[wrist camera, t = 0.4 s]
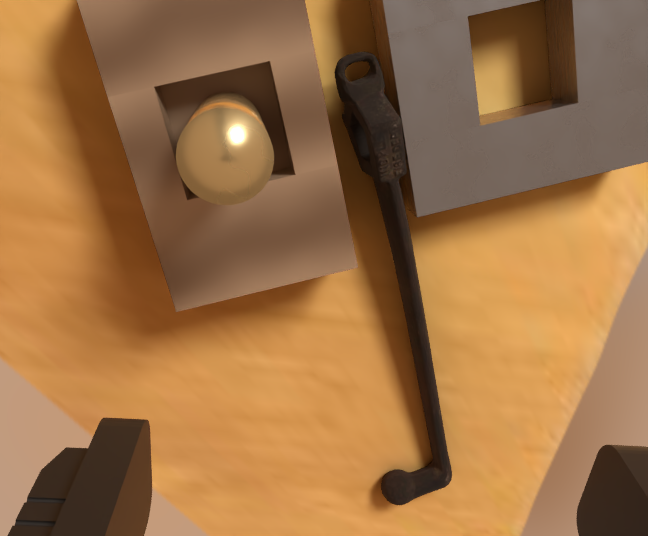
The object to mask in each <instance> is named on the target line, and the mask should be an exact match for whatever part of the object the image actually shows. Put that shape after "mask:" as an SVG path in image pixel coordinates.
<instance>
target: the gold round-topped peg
mask: <svg viewBox="0 0 648 536" xmlns="http://www.w3.org/2000/svg"><path fill="white" fill-rule="evenodd" d="M176 163H177V167H178V171H179V173H180V176H181V178H182V180H183V181H184V183H185V184H186V186H187V187H188V188H189V189H190V190H191V191H192V192H193V193H194V194H195V195H197V196H198V197H200V198H201V199H203V200H205V201H207V202H210V203H213V204H218V205H235V204H239V203H243V202H245V201H247V200H249V199H251V198H253V197H254V196H256V195H257V194H258V193H259V192H260V191H261V190H262V189H263V188H264V187H265V185H266V184H267V182H268V180H269V178H270V176H271V173H272V170H273V166H274V151H273V146H272V143H271V140H270V137H269V135H268V133H267V130H266V128H265V126H264V123H263V121H262V119H261V116H260V114H259V112H258V110H257V108H256V107H255V106H254V104H253V103H252V102H251V101H250V100H248V99H247V98H246V97H244V96H242V95H240V94H238V93H234V92H219V93H215V94H213V95H211V96H209V97H207V98H206V99H205V100H204V101H202V103H201V104H200V105H199V106H198V108H197V109H196V111H195V112H194V114H193V116H192V117H191V119H190V120H189V122H188V123H187V125H186V126H185V128H184V129H183V131H182V133H181V135H180V137H179V140H178V143H177V148H176Z"/></svg>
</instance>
